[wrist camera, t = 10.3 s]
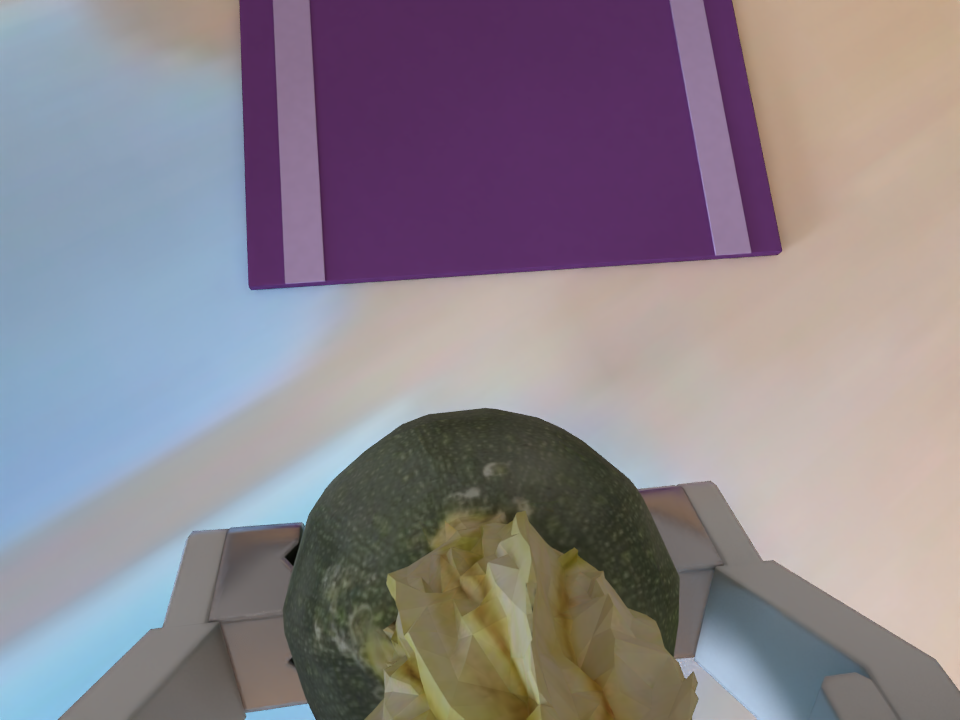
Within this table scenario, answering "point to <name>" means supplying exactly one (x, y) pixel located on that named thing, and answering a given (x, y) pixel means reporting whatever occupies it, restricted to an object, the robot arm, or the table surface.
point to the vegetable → (485, 582)
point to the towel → (495, 138)
